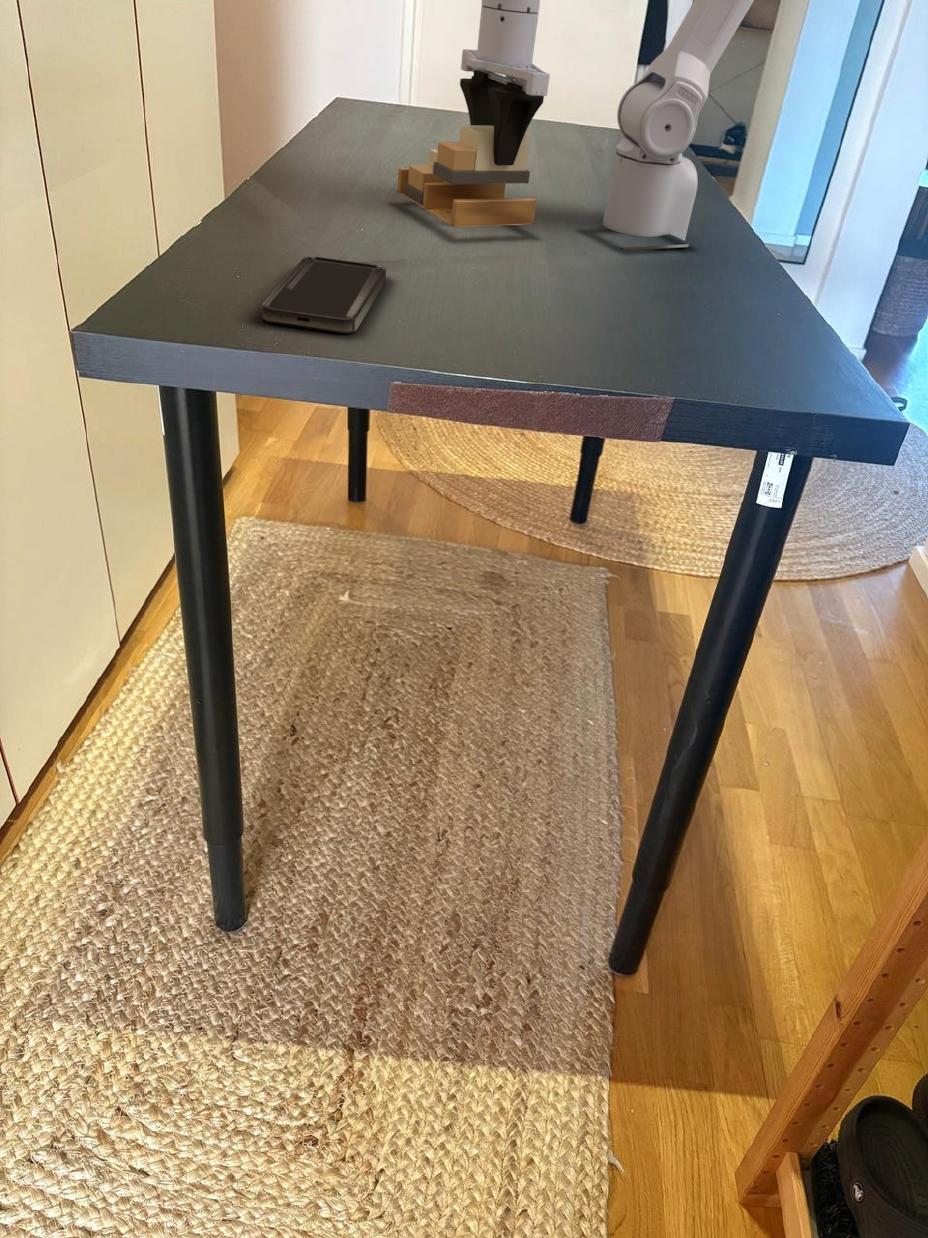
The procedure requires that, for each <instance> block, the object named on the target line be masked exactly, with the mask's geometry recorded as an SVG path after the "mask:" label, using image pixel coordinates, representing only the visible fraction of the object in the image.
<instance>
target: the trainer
mask: <svg viewBox="0 0 928 1238" xmlns="http://www.w3.org/2000/svg"><path fill="white" fill-rule="evenodd" d="M459 130H460V131H459V141H438V142H437V150H438V151H437V162H434V164H433V174H435V175H436V176H438V177H440V178H442V179H444V180H445V181H447V182H449V183H451V184H497V183H505V184H529V182H530V174H531V171H530V170H527V167H528V160H529V153H530V152H529V151H530V145H531V137H532V134H531V133H529V132H528V131H526V132H525V135H524V137H523V140H522V142H521V145H520V148H519V151H518V154H517V157H516V159H515V162H514V164H513V165H496V164H494V154H493V143H494V126H480V125H471V124H470V125H469V124H460V129H459Z"/></svg>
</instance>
